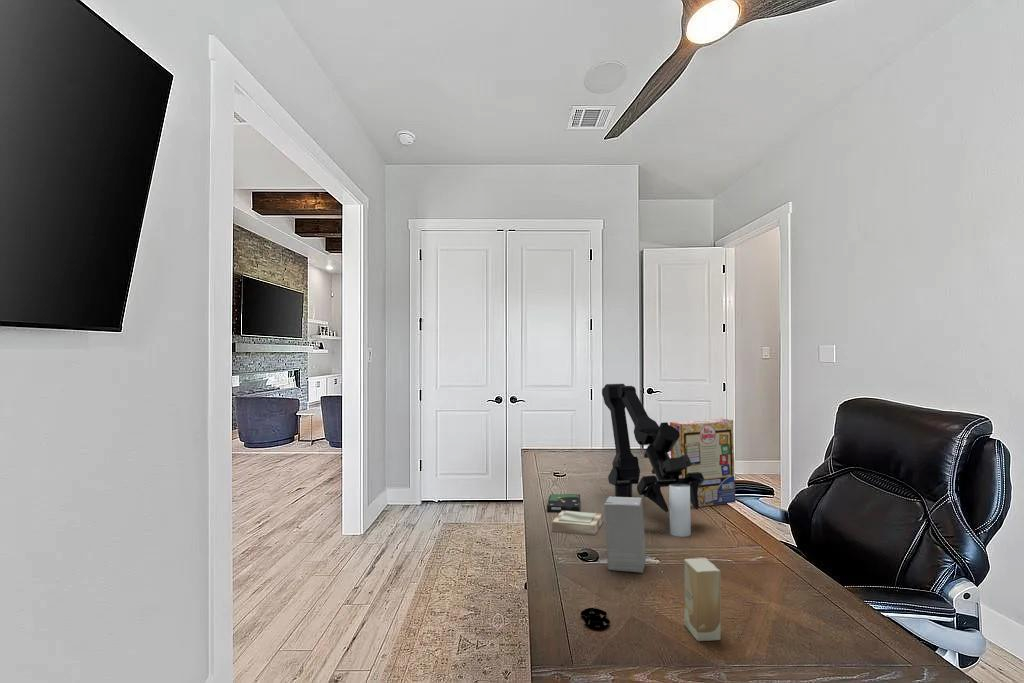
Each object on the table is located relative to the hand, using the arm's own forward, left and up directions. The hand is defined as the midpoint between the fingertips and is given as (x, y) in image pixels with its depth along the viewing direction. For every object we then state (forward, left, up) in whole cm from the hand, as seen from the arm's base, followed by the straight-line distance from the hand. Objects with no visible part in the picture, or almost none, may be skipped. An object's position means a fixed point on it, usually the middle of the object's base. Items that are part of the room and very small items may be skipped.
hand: (682, 510), depth 156 cm
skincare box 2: (+55, +5, -7) cm, 56 cm away
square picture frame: (+1, -29, -7) cm, 30 cm away
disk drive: (-19, -37, -7) cm, 43 cm away
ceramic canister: (-1, -1, -7) cm, 7 cm away
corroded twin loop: (+56, -14, -7) cm, 58 cm away
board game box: (-34, +5, -7) cm, 35 cm away
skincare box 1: (+28, -12, -7) cm, 31 cm away
